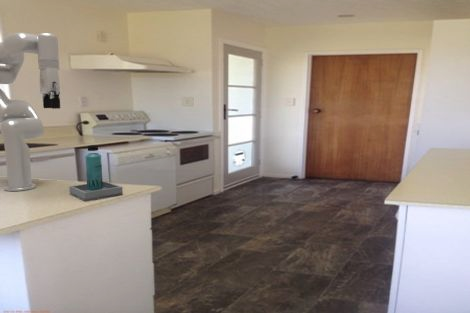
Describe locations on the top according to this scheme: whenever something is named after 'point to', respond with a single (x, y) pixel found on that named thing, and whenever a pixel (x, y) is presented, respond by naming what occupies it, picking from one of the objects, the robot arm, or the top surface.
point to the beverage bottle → (94, 169)
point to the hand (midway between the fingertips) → (51, 108)
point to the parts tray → (96, 191)
